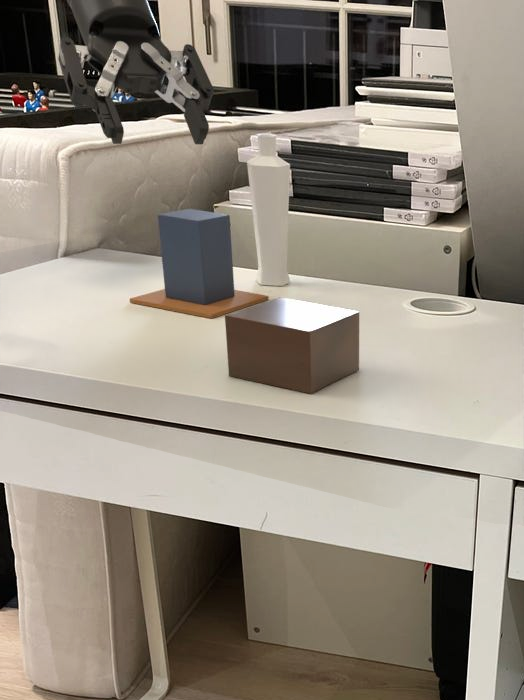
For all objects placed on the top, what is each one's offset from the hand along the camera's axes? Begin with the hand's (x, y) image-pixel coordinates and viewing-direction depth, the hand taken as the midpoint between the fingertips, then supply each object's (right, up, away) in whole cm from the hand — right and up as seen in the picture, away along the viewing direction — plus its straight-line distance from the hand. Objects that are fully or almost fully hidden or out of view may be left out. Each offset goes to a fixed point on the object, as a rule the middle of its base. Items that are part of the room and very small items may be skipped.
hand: (161, 138), depth 99 cm
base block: (+16, -28, -15) cm, 36 cm away
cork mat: (+3, -15, +3) cm, 16 cm away
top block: (+3, -15, +3) cm, 16 cm away
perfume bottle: (+9, -10, +12) cm, 18 cm away
